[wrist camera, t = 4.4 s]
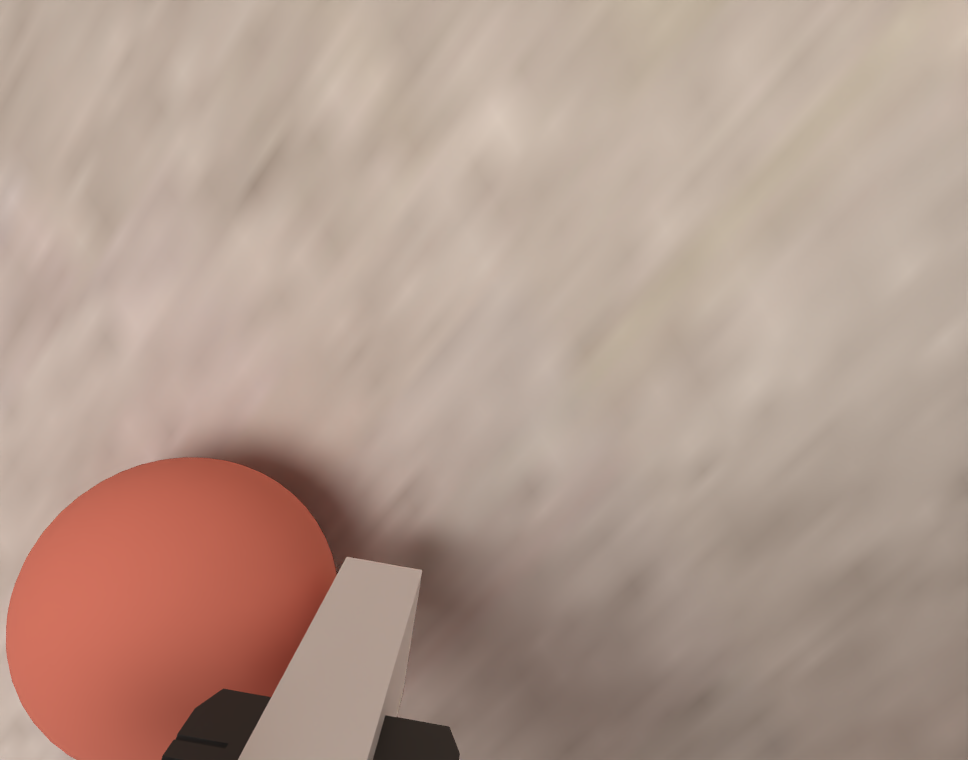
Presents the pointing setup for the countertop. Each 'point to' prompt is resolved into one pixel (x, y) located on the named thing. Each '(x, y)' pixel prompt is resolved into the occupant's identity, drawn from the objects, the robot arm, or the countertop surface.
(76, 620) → the ball
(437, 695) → the countertop surface
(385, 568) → the robot arm
